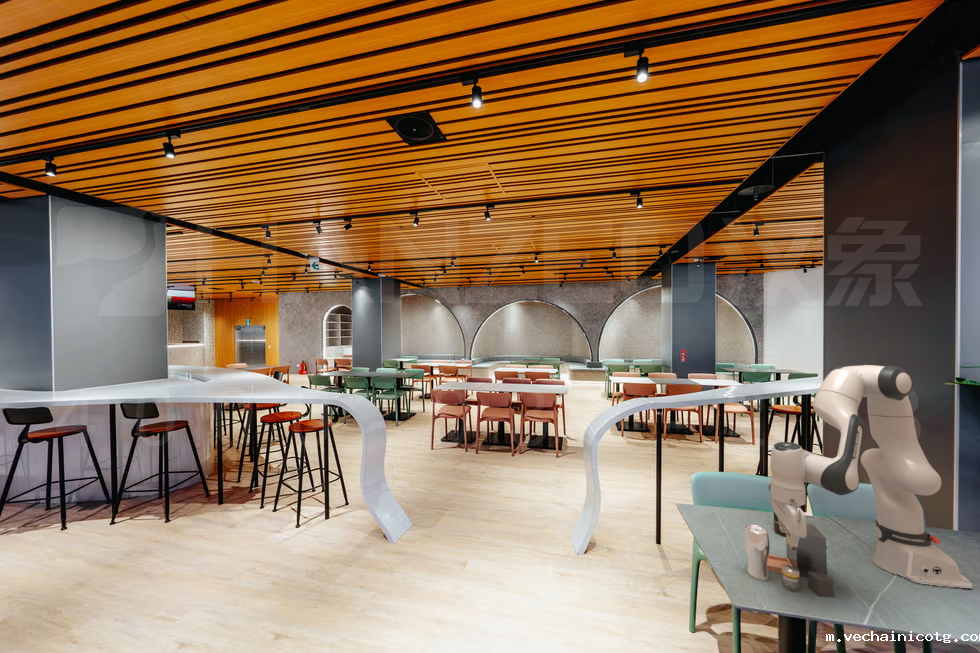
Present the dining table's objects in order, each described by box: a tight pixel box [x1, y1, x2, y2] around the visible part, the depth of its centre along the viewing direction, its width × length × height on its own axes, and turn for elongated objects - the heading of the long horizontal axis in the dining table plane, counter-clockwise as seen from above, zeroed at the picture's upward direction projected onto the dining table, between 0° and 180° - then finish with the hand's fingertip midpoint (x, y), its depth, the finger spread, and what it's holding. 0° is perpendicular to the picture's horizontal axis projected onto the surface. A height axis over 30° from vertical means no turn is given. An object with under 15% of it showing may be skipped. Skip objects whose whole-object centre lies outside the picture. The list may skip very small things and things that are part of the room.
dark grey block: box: [785, 523, 828, 579], centre depth 130 cm, size 9×10×14 cm
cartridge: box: [781, 565, 801, 593], centre depth 121 cm, size 5×5×6 cm
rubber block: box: [807, 571, 835, 599], centre depth 119 cm, size 4×4×5 cm
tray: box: [767, 554, 793, 574], centre depth 132 cm, size 8×8×2 cm
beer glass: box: [743, 524, 771, 581], centre depth 128 cm, size 7×7×15 cm
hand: (788, 538), depth 122 cm, fingers open, 8 cm apart
